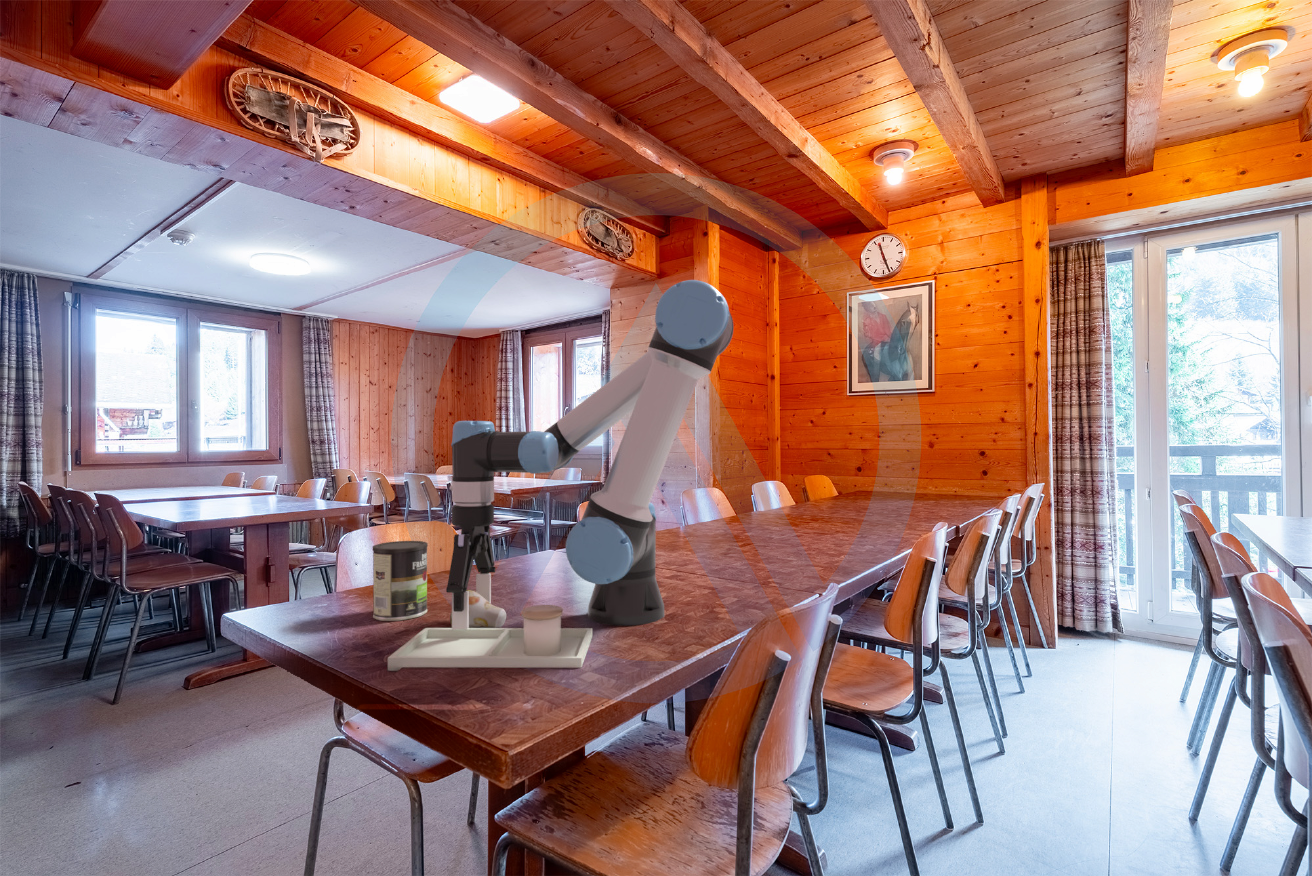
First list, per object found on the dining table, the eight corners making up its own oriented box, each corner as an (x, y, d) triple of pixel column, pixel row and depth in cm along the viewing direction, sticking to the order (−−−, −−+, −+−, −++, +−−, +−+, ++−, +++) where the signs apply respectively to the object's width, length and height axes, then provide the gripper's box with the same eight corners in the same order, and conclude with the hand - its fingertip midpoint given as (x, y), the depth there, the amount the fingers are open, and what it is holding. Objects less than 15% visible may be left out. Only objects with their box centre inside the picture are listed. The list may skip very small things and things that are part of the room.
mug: (503, 636, 109) (474, 590, 108) (462, 655, 112) (433, 610, 110) (519, 614, 116) (492, 571, 115) (479, 632, 119) (452, 591, 117)
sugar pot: (565, 643, 102) (565, 604, 102) (559, 657, 96) (559, 616, 96) (526, 643, 102) (526, 604, 102) (517, 657, 96) (517, 616, 96)
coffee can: (435, 607, 128) (435, 540, 128) (415, 621, 117) (415, 549, 117) (386, 606, 128) (387, 540, 128) (362, 621, 117) (362, 549, 117)
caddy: (592, 639, 106) (592, 628, 106) (581, 671, 92) (581, 658, 92) (425, 639, 107) (425, 627, 107) (387, 670, 92) (387, 657, 92)
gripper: (473, 496, 125) (473, 598, 125) (426, 511, 100) (426, 639, 100) (509, 497, 125) (509, 599, 125) (472, 511, 100) (471, 639, 100)
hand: (472, 617), depth 112 cm, fingers open, 13 cm apart
